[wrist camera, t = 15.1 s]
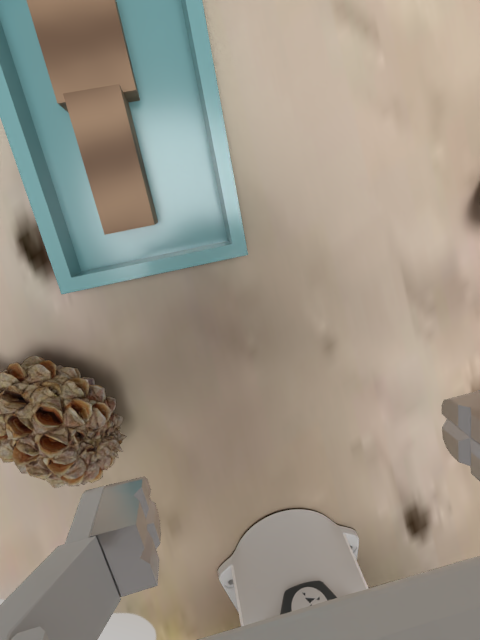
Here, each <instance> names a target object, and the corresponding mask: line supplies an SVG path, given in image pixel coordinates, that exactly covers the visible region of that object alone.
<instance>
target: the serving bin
mask: <svg viewBox="0 0 480 640" xmlns="http://www.w3.org/2000/svg"><path fill="white" fill-rule="evenodd" d="M116 2H117V6H118V10H119V14H120V18H121V22H122V27H123V31H124V35H125V39H126V43H127V47H128V52H129V56H130V60H131V64H132V68H133V72H134V77H135V81H136V85H137V89H138V93H139V97H140V101H134V102H128V103H129V107H130V111H131V115H132V119H133V123H134V127H135V131H136V135H137V139H138V143H139V147H140V151H141V155H142V159H143V163H144V167H145V171H146V175H147V179H148V183H149V187H150V191H151V195H152V199H153V203H154V207H155V211H156V215H157V219H158V223H157V224H155V225H151V226H146V227H141V228H136V229H131V230H126V231H121V232H116V233H111V234H106V235H104V231H103V228H102V224H101V221H100V218H99V214H98V211H97V207H96V204H95V201H94V197H93V194H92V191H91V187H90V184H89V180H88V177H87V174H86V170H85V167H84V163H83V160H82V157H81V153H80V150H79V146H78V143H77V140H76V136H75V133H74V129H73V126H72V123H71V119H70V116H69V113H68V112H67V111H66V110H65V109H64V108H62V107H61V106H60V105H59V104H58V103H57V100H56V97H55V94H54V90H53V87H52V84H51V80H50V77H49V74H48V70H47V67H46V64H45V60H44V57H43V54H42V50H41V47H40V44H39V40H38V37H37V34H36V31H35V27H34V24H33V21H32V17H31V14H30V11H29V7H28V4H27V1H26V0H0V118H1V120H2V123H3V126H4V129H5V132H6V135H7V138H8V141H9V144H10V146H11V149H12V152H13V155H14V158H15V161H16V164H17V167H18V170H19V173H20V175H21V178H22V181H23V184H24V187H25V190H26V193H27V196H28V199H29V201H30V204H31V207H32V210H33V213H34V216H35V219H36V222H37V225H38V227H39V230H40V233H41V236H42V239H43V242H44V245H45V248H46V251H47V253H48V256H49V259H50V262H51V265H52V268H53V271H54V274H55V277H56V280H57V282H58V285H59V288H60V291H61V294H66V293H70V292H75V291H80V290H84V289H89V288H94V287H99V286H103V285H108V284H113V283H117V282H122V281H127V280H132V279H136V278H141V277H146V276H150V275H155V274H160V273H165V272H169V271H174V270H179V269H184V268H188V267H193V266H198V265H202V264H207V263H212V262H217V261H221V260H226V259H231V258H235V257H240V256H245V255H248V252H247V246H246V241H245V235H244V230H243V224H242V219H241V213H240V208H239V202H238V197H237V191H236V186H235V180H234V175H233V169H232V163H231V158H230V152H229V147H228V141H227V136H226V130H225V125H224V119H223V114H222V108H221V103H220V97H219V91H218V86H217V80H216V75H215V69H214V64H213V58H212V53H211V47H210V42H209V36H208V31H207V25H206V20H205V14H204V8H203V3H202V0H116Z"/></svg>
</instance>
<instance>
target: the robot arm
mask: <svg viewBox="0 0 480 640" xmlns="http://www.w3.org/2000/svg"><path fill="white" fill-rule="evenodd" d="M442 414H443V415H444V416H445V417H446V418H447V420H446V422H445V424H444V425H443V427H442V434H443V440H444V443H445V445H446V448H447V449H448V451H449V452H450V454H451V455H452V456H453V457H454V458H455V459H456V460H457V461H458V462H460V463H463V464H466V465H469V466H470V468H471V474H472V475H473V476H475V477H476V478H477V479H478V480H479V481H480V390H478V391H476V392H472V393H469V394H465V395H461V396H457V397H453V398H449V399H446V400H444V401H443V403H442ZM150 493H151V488H150V485H149V482H148V480H147V478H146V477H145V476H144V477H140V478H136V479H131V480H127V481H123V482H119V483H114V484H110V485H106V486H102V487H98V488H94V489H90V490H86V491H85V492H84V493H83V494H82V497H81V499H80V502H79V505H78V508H77V511H76V514H75V517H74V519H73V522H72V525H71V528H70V531H69V534H68V536H67V539H66V542H65V544H64V545H60V546H58V547H57V548H56V549H55V550H54V551H53V552H52V553H51V554H50V555H49V556H48V557H47V558H46V559H45V560H44V561H43V562H42V563H41V564H40V565H39V566H38V567H37V568H36V569H35V570H34V571H33V572H32V573H31V574H30V575H29V576H28V577H27V578H26V579H25V581H24V582H23V583H22V584H21V585H20V586H19V587H18V588H17V589H16V590H15V591H14V592H13V593H12V594H11V595H10V596H9V597H8V598H7V599H6V600H5V601H4V602H3V603H2V604H1V605H0V640H97V639H98V638H99V636H100V634H101V632H102V631H103V629H104V627H105V625H106V624H107V622H108V621H109V619H110V617H111V615H112V614H113V612H114V610H115V609H116V607H117V605H118V604H119V602H120V600H121V598H120V597H123V596H126V595H129V594H132V593H135V592H139V591H142V590H145V589H148V588H151V587H154V586H157V585H158V571H159V557H158V554H157V551H156V549H157V547H158V546H159V544H160V539H161V529H160V519H159V514H158V510H157V507H156V503H154V502H153V501H151V500H150ZM358 547H359V538H358V535H357V533H356V531H355V530H353V529H351V528H348V527H343V526H339V525H337V524H335V523H334V522H333V521H331V520H330V519H329V518H328V517H326V516H324V515H322V514H320V513H318V512H315V511H311V510H304V509H294V510H286V511H282V512H278V513H275V514H273V515H270V516H268V517H266V518H264V519H262V520H261V521H259V522H258V523H256V524H255V525H254V526H252V527H251V528H250V529H249V530H248V531H247V532H246V533H245V535H244V536H243V537H242V539H241V540H240V542H239V544H238V546H237V548H236V550H235V552H234V553H233V555H232V556H231V557H230V558H229V559H227V560H226V561H225V562H224V563H223V564H222V565H221V566H220V567H219V569H218V577H219V581H220V583H221V584H222V586H223V588H224V589H225V591H226V593H227V594H228V596H229V598H230V599H231V601H232V603H233V604H234V606H235V608H236V609H237V611H238V613H239V618H240V623H241V627H238V628H234V629H231V630H228V631H224V632H221V633H218V634H214V635H211V636H208V637H204V638H201V639H197V640H480V556H477V557H473V558H470V559H466V560H463V561H460V562H456V563H453V564H450V565H446V566H443V567H439V568H436V569H433V570H429V571H426V572H423V573H419V574H416V575H412V576H409V577H406V578H402V579H399V580H396V581H392V582H389V583H385V584H382V585H379V586H375V587H372V588H368V586H367V583H366V581H365V579H364V577H363V574H362V572H361V570H360V567H359V565H358V563H357V555H358Z"/></svg>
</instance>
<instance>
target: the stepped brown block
mask: <svg viewBox="0 0 480 640" xmlns="http://www.w3.org/2000/svg"><path fill="white" fill-rule="evenodd" d="M26 1H27V4H28V7H29V11H30V14H31V17H32V21H33V24H34V27H35V31H36V34H37V37H38V40H39V44H40V47H41V50H42V54H43V57H44V60H45V64H46V67H47V70H48V74H49V77H50V80H51V84H52V87H53V90H54V94H55V97H56V100H57V103H58V104H59V105H60V106H61V107H62V108H64V109H65V110H66V111H67V112H68V113H69V116H70V119H71V123H72V126H73V129H74V133H75V136H76V140H77V143H78V146H79V150H80V153H81V157H82V160H83V163H84V167H85V170H86V174H87V177H88V180H89V184H90V187H91V191H92V194H93V197H94V201H95V204H96V207H97V211H98V214H99V218H100V221H101V224H102V228H103V231H104V235H106V234H111V233H116V232H121V231H126V230H131V229H136V228H141V227H146V226H151V225H155V224H157V223H158V219H157V215H156V211H155V207H154V203H153V199H152V195H151V191H150V187H149V183H148V179H147V175H146V171H145V167H144V163H143V159H142V155H141V151H140V147H139V143H138V139H137V135H136V131H135V127H134V123H133V119H132V115H131V111H130V107H129V103H128V102H134V101H140V97H139V93H138V89H137V85H136V81H135V77H134V72H133V68H132V64H131V60H130V56H129V52H128V47H127V43H126V39H125V35H124V31H123V27H122V22H121V18H120V14H119V10H118V6H117V2H116V0H26Z"/></svg>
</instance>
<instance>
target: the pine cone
mask: <svg viewBox="0 0 480 640" xmlns="http://www.w3.org/2000/svg"><path fill="white" fill-rule="evenodd" d="M115 408H116V400H115V399H114V398H112V397H109V396H107V397H106V391H105V388H104V387H102V386H100V385H95V381H94V378H88V377H82V378H81V374H80V372H79V371H78V369H77V368H71V367H63V366H62V365H57V366H56V365H55V364H54V363H53V362H51V361H50V360H47V361H46V360H44V359H43V358H41V357H37V356H36V355H34V356H31V357H29V358H27V359H26V360H24V362H23V363H22V364H21V365H20V364H19V363H17V362H16V363H12V364H9V366H8V368H7V370H4V371H3V372H0V458H1V459H2V461H3V462H13V461H14V462H15V464H16V466H17V467H18V469H19V470H20V472H21V473H29V475H30V476H33V477H37V478H40V479H43V480H47V481H48V482H49V483H50V484H51V485H52V486H53V487H54V488H57V487H61V486H63V485H65V484H67V485H68V486H79V485H80V484H83V485H84V484H86V483H87V482H91V483H92V482H95V481H98V480H100V479H101V478H102V477H103V470H107V469H108V467H111V466H112V465H113V464H114V461H115V457H117V458H118V454H117V452H118V451H121V452H123V451H122V449H121V447H120V444H121V443H122V440H123V439H124V438H126V436H125V435H123V434H121V433H120V431H119V430H118V429H120V425H121V423H122V420H123V418H122V417H121V416H119V415H118V414H116V413H113V411H114V410H115Z"/></svg>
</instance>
